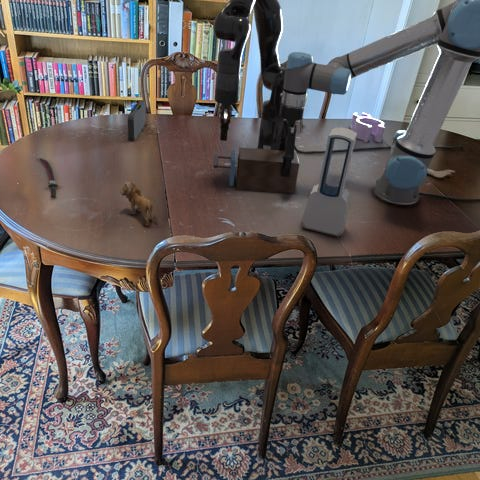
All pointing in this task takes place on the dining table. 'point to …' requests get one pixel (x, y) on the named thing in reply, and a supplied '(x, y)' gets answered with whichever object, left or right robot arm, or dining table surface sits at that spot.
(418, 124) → the right robot arm
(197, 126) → the dining table surface
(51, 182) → the sword
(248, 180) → the cabinet
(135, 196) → the lion figurine
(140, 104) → the handheld gaming console
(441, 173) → the jawbone
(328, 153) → the electronic device
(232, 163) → the drawer
